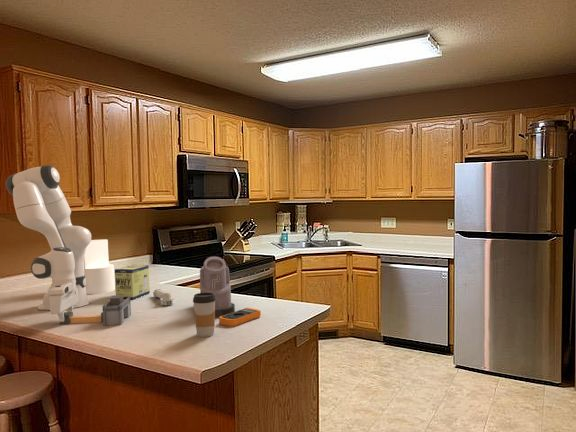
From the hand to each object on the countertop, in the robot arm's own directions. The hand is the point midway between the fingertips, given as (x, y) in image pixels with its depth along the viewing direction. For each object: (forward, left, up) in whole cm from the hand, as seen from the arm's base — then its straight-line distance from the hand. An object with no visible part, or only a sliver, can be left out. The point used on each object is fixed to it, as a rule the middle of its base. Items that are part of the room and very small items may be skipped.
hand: (66, 318), depth 189 cm
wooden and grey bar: (+9, 0, -2) cm, 9 cm away
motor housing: (+21, 0, -2) cm, 21 cm away
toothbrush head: (+34, +32, -2) cm, 47 cm away
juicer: (+61, +11, -2) cm, 62 cm away
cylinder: (-8, +65, -2) cm, 66 cm away
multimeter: (+73, -9, -2) cm, 73 cm away
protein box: (+16, +46, -2) cm, 49 cm away
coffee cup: (+61, -26, -2) cm, 66 cm away
